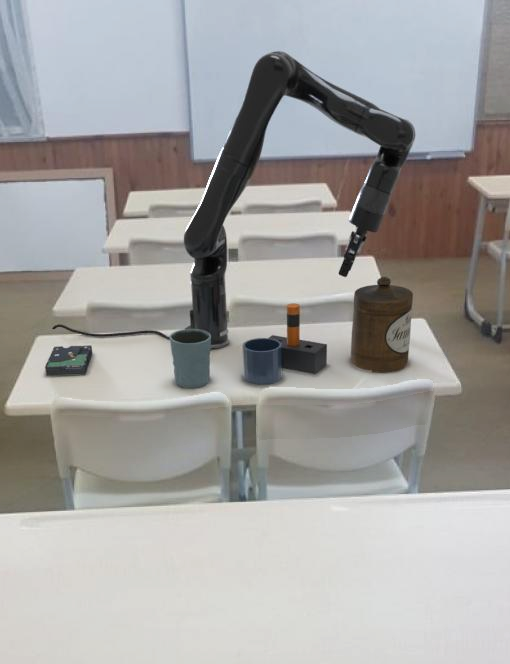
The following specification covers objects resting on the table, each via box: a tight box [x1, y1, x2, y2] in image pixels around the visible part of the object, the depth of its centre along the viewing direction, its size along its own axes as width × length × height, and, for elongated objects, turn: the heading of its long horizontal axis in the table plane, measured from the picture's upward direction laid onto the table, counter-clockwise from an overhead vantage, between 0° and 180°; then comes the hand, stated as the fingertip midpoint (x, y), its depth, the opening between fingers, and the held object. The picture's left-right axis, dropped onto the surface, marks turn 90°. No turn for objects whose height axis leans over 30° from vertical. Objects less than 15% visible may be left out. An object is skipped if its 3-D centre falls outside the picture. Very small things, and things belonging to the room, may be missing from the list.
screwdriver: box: [286, 302, 301, 346], centre depth 215 cm, size 3×3×16 cm
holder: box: [268, 334, 328, 375], centre depth 218 cm, size 16×7×6 cm, turn 61°
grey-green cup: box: [169, 328, 211, 389], centre depth 209 cm, size 10×10×12 cm
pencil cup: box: [241, 337, 283, 386], centre depth 210 cm, size 10×10×9 cm
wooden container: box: [350, 276, 414, 373], centre depth 214 cm, size 15×15×22 cm
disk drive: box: [44, 344, 93, 377], centre depth 223 cm, size 10×3×15 cm
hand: (344, 272), depth 208 cm, fingers open, 8 cm apart
